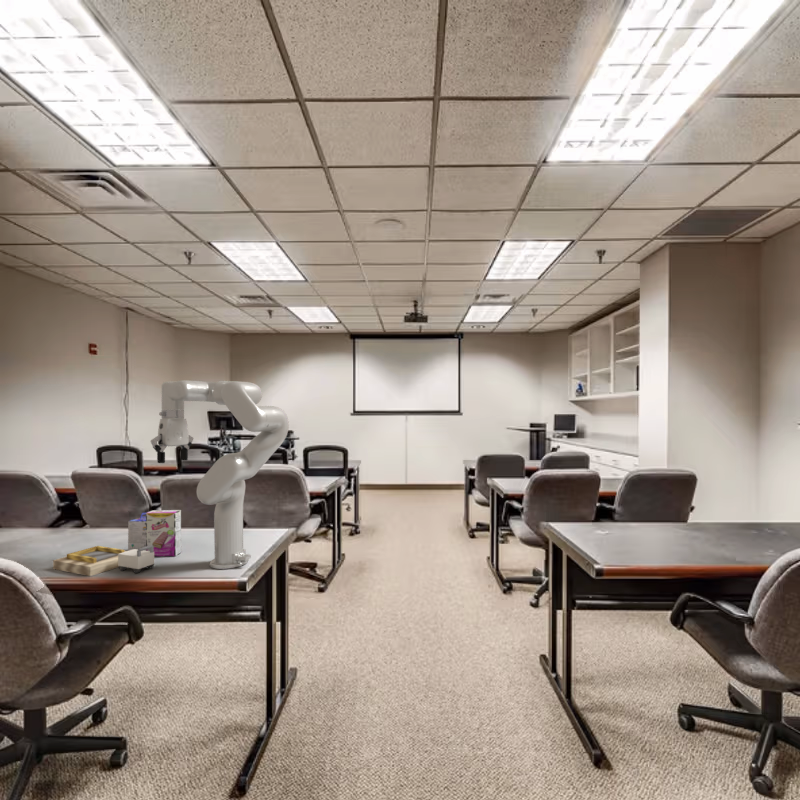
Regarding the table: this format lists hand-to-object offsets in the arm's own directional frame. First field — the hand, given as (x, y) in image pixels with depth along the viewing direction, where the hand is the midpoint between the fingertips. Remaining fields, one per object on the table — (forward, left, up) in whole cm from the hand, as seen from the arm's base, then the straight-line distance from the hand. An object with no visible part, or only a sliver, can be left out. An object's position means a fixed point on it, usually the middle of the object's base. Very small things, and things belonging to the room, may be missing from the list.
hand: (172, 461), depth 176 cm
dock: (+19, +16, -35) cm, 43 cm away
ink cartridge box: (+18, -2, -35) cm, 40 cm away
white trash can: (+1, +14, -35) cm, 38 cm away
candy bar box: (+6, -1, -35) cm, 36 cm away
